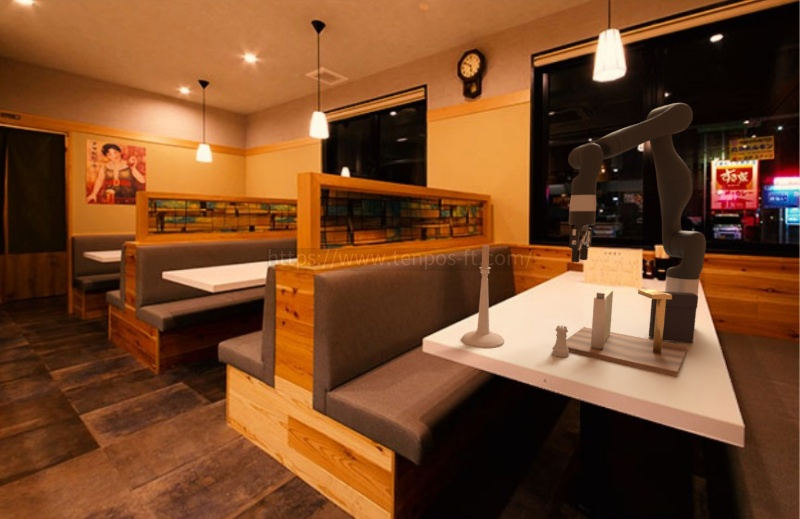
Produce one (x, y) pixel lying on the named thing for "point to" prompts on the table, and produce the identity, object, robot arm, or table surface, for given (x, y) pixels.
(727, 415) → the table surface
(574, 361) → the table surface
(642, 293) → the plate
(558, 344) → the rook chess piece
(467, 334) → the candlestick
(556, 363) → the table surface
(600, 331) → the hinge
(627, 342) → the board
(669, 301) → the dark brown flat block
